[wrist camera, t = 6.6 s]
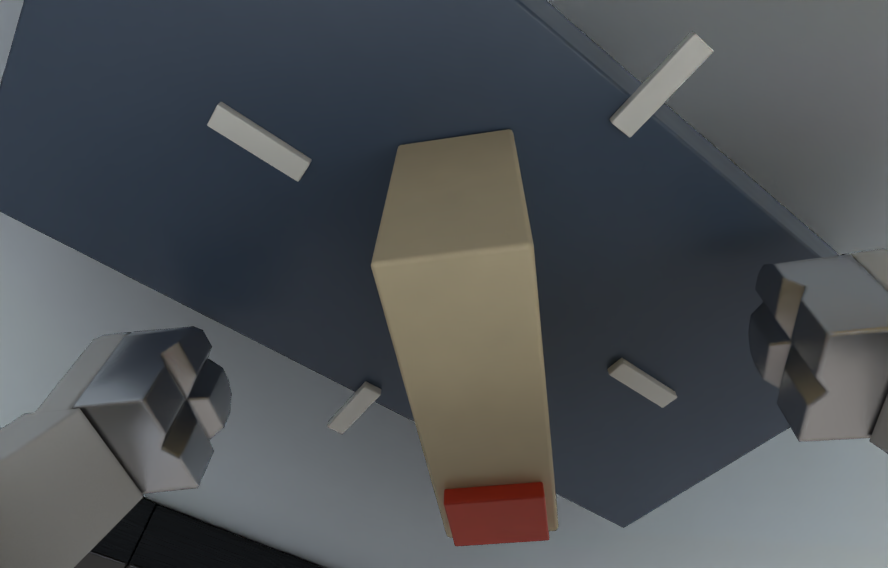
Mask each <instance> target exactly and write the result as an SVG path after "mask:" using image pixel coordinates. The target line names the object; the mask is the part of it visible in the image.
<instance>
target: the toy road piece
mask: <svg viewBox="0 0 888 568" xmlns="http://www.w3.org/2000/svg"><path fill="white" fill-rule="evenodd" d="M713 52H714V50H713V49H712V48H711V47H710V46H709V45H708V44H706V43H705V42H704V41H703V40H702V39H701V38H700V37H699V36H698V35H697V34H696V33H695V32H693V31H691V32H690V33H689V34H688V35H687V36H686V37H685V38H684V39H683V40H682V41H681V42H680V43H679V45H678V46H677V47H676V48H675V49H674V50H673V51H672V52H671V53H670V54H669V55H668V56H667V57H666V58H665V60H664V61H663V62H662V63H661V64H660V65H659V66H658V67H657V68H656V69H655V70H654V71H653V72H652V74H651V75H650V76H649V77H648V78H647V79H646V80H645V81H644V82H643V83H641V82H640V81H638V80H637V79H636V78H635V77H634V76H633V75H631V74H630V73H629V72H628V71H627V70H626V69H625V68H623V67H622V66H621V65H620V64H619V63H618V62H616V61H615V60H614V59H613V58H612V57H611V56H610V55H608V54H607V53H606V52H605V51H604V50H603V49H601V48H600V47H599V46H598V45H597V44H596V43H595V42H593V41H592V40H591V39H590V38H589V37H588V36H586V35H585V34H584V33H583V32H582V31H581V30H580V29H578V28H577V27H576V26H575V25H574V24H573V23H571V22H570V21H569V20H568V19H567V18H566V17H565V16H563V15H562V14H561V13H560V12H559V11H558V10H556V9H555V8H554V7H553V6H552V5H551V4H550V3H548V2H547V1H546V0H24V3H23V6H22V10H21V13H20V17H19V20H18V24H17V27H16V31H15V35H14V38H13V42H12V45H11V49H10V52H9V56H8V59H7V63H6V66H5V70H4V74H3V77H2V81H1V84H0V212H2V213H4V214H6V215H8V216H10V217H12V218H14V219H16V220H18V221H20V222H22V223H24V224H26V225H28V226H30V227H31V228H33V229H35V230H37V231H39V232H41V233H43V234H45V235H47V236H49V237H51V238H53V239H55V240H57V241H59V242H61V243H63V244H65V245H67V246H69V247H71V248H73V249H75V250H77V251H79V252H81V253H83V254H85V255H87V256H89V257H91V258H93V259H95V260H97V261H99V262H100V263H102V264H104V265H106V266H108V267H110V268H112V269H114V270H116V271H118V272H120V273H122V274H124V275H126V276H128V277H130V278H132V279H134V280H136V281H138V282H140V283H142V284H144V285H146V286H148V287H150V288H152V289H154V290H156V291H158V292H160V293H162V294H164V295H166V296H168V297H169V298H171V299H173V300H175V301H177V302H179V303H181V304H183V305H185V306H187V307H189V308H191V309H193V310H195V311H197V312H199V313H201V314H203V315H205V316H207V317H209V318H211V319H213V320H215V321H217V322H219V323H221V324H223V325H225V326H227V327H229V328H231V329H233V330H235V331H237V332H238V333H240V334H242V335H244V336H246V337H248V338H250V339H252V340H254V341H256V342H258V343H260V344H262V345H264V346H266V347H268V348H270V349H272V350H274V351H276V352H278V353H280V354H282V355H284V356H286V357H288V358H290V359H292V360H294V361H296V362H298V363H300V364H302V365H304V366H305V367H307V368H309V369H311V370H313V371H315V372H317V373H319V374H321V375H323V376H325V377H327V378H329V379H331V380H333V381H335V382H337V383H339V384H341V385H343V386H345V387H347V388H349V389H351V390H353V391H355V393H354V394H353V395H352V396H351V397H350V399H349V400H348V401H347V402H346V403H345V404H344V405H343V406H342V407H341V408H340V409H339V410H338V411H337V413H336V414H335V415H334V416H333V417H332V418H331V419H330V420H329V421H328V425H327V427H328V428H330V429H332V430H334V431H336V432H338V433H340V434H343V433H344V432H345V431H346V430H347V429H348V428H349V427H350V426H351V425H352V424H353V423H354V422H355V421H356V420H357V419H358V418H359V417H360V416H361V415H362V414H363V413H364V412H365V411H366V410H367V409H368V408H369V407H370V406H371V405H372V403H373V402H376V403H378V404H380V405H382V406H384V407H386V408H388V409H390V410H392V411H394V412H396V413H398V414H400V415H402V416H404V417H406V418H408V419H410V420H412V421H414V418H413V414H412V410H411V407H410V403H409V400H408V396H407V393H406V389H405V386H404V382H403V379H402V375H401V372H400V368H399V364H398V361H397V357H396V354H395V350H394V347H393V343H392V340H391V336H390V333H389V329H388V325H387V322H386V318H385V315H384V311H383V308H382V304H381V301H380V297H379V294H378V290H377V286H376V283H375V279H374V276H373V272H372V269H371V262H372V258H373V253H374V249H375V245H376V240H377V236H378V231H379V227H380V223H381V218H382V214H383V210H384V205H385V201H386V197H387V192H388V188H389V184H390V179H391V175H392V171H393V166H394V162H395V158H396V153H397V149H398V146H400V145H405V144H411V143H418V142H425V141H432V140H439V139H446V138H453V137H459V136H466V135H473V134H480V133H487V132H494V131H501V130H507V129H509V130H512V132H513V134H514V140H515V145H516V151H517V156H518V162H519V167H520V173H521V178H522V184H523V189H524V195H525V200H526V206H527V211H528V217H529V222H530V228H531V233H532V239H533V244H534V254H535V265H536V276H537V288H538V299H539V310H540V322H541V333H542V344H543V356H544V367H545V378H546V390H547V401H548V412H549V424H550V435H551V446H552V458H553V469H554V480H555V492H556V494H558V495H560V496H562V497H564V498H566V499H568V500H570V501H572V502H574V503H576V504H578V505H580V506H581V507H583V508H585V509H587V510H589V511H591V512H593V513H595V514H597V515H599V516H601V517H603V518H605V519H607V520H609V521H611V522H613V523H615V524H617V525H619V526H621V527H626V526H628V525H629V524H631V523H633V522H634V521H636V520H638V519H639V518H641V517H643V516H644V515H646V514H648V513H649V512H651V511H653V510H654V509H656V508H658V507H659V506H661V505H662V504H664V503H666V502H667V501H669V500H671V499H672V498H674V497H676V496H677V495H679V494H681V493H682V492H684V491H686V490H687V489H689V488H691V487H692V486H694V485H695V484H697V483H699V482H700V481H702V480H704V479H705V478H707V477H709V476H710V475H712V474H714V473H715V472H717V471H719V470H720V469H722V468H724V467H725V466H727V465H728V464H730V463H732V462H733V461H735V460H737V459H738V458H740V457H742V456H743V455H745V454H747V453H748V452H750V451H752V450H753V449H755V448H757V447H758V446H760V445H761V444H763V443H765V442H766V441H768V440H770V439H771V438H773V437H775V436H776V435H778V434H780V433H781V432H783V431H785V430H786V429H788V428H790V425H789V424H788V422H787V420H786V419H785V417H784V415H783V414H782V412H781V410H780V409H779V407H778V405H777V399H778V394H779V390H780V389H778V388H777V387H775V386H773V385H771V384H770V383H768V382H766V381H764V380H763V379H762V378H761V376H760V374H759V372H758V370H757V369H756V367H755V364H754V362H753V359H752V356H751V353H750V346H749V338H748V330H749V323H750V315H751V314H752V313H753V312H754V311H755V310H756V309H757V308H758V307H759V306H760V305H761V304H762V303H763V300H762V299H761V297H760V296H759V294H758V293H757V291H756V290H755V287H756V282H757V277H758V273H759V271H760V270H761V268H762V266H763V264H772V263H780V262H789V261H797V260H806V259H814V258H823V257H831V256H840V255H839V254H838V253H837V252H836V251H834V250H833V249H832V248H831V247H830V246H829V245H828V244H826V243H825V242H824V241H823V240H822V239H821V238H819V237H818V236H817V235H816V234H815V233H814V232H813V231H811V230H810V229H809V228H808V227H807V226H806V225H804V224H803V223H802V222H801V221H800V220H799V219H798V218H796V217H795V216H794V215H793V214H792V213H791V212H789V211H788V210H787V209H786V208H785V207H784V206H783V205H781V204H780V203H779V202H778V201H777V200H776V199H774V198H773V197H772V196H771V195H770V194H769V193H768V192H766V191H765V190H764V189H763V188H762V187H761V186H759V185H758V184H757V183H756V182H755V181H754V180H753V179H751V178H750V177H749V176H748V175H747V174H746V173H744V172H743V171H742V170H741V169H740V168H739V167H738V166H736V165H735V164H734V163H733V162H732V161H731V160H729V159H728V158H727V157H726V156H725V155H724V154H723V153H721V152H720V151H719V150H718V149H717V148H716V147H714V146H713V145H712V144H711V143H710V142H709V141H708V140H706V139H705V138H704V137H703V136H702V135H701V134H700V133H698V132H697V131H696V130H695V129H694V128H693V127H691V126H690V125H689V124H688V123H687V122H686V121H685V120H683V119H682V118H681V117H680V116H679V115H678V114H676V113H675V112H674V111H673V110H672V109H671V108H670V107H668V106H667V105H666V104H665V102H666V101H667V99H668V98H669V97H670V96H671V95H672V94H673V93H674V92H675V91H676V90H677V89H678V88H679V87H680V86H681V85H682V84H683V83H684V82H685V81H686V80H687V79H688V78H689V77H690V76H691V75H692V74H693V73H694V72H695V71H696V70H697V69H698V68H699V67H700V65H701V64H702V63H703V62H704V61H705V60H706V59H707V58H708V57H709V56H710V55H711V54H712V53H713ZM414 422H415V421H414Z"/></svg>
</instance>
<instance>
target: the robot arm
mask: <svg viewBox="0 0 888 568" xmlns="http://www.w3.org/2000/svg"><path fill="white" fill-rule="evenodd" d="M755 290H756V291H757V293H758V294H759V296H760V297H761V299H762V300H763V303H762V304H761V305H760V306H759V307H758V308H757V309H756V310H755V311H754V312H753V313H752V314H751V315H750V323H749V330H748V338H749V346H750V353H751V356H752V359H753V362H754V364H755V367H756V369H757V370H758V372H759V374H760V376H761V378H762V379H763V380H764V381H766V382H768V383H770V384H771V385H773V386H775V387H777V388H778V389H780V390H779V394H778V399H777V405H778V407H779V409H780V410H781V412H782V414H783V415H784V417H785V419H786V420H787V422H788V424H789V425H790V427H791V429H792V430H793V432H794V434H795V435H796V437H797V439H798V440H799V442H802V441H821V440H841V439H860V438H870V442H872V443H873V444H874V445H876V446H877V447H879V448H880V449H882V450H883V451H885V452H886V453H887V454H888V250H887V249H884V248H883V249H876V250H868V251H861V252H854V253H847V254H842V255H840V256H831V257H823V258H814V259H806V260H797V261H789V262H780V263H772V264H763V266H762V268H761V270H760V271H759V273H758V277H757V282H756V287H755ZM211 348H212V346H211V344H210V342H209V340H208V339H207V337H206V335H205V333H204V331H203V330H201V329H199V328H196V327H194V326H192V327H181V328H169V329H158V330H146V331H135V332H125V333H116V334H107V335H103V336H100V337H98V338H95V339H93V340H92V342H91V343H90V344H89V345H88V347H87V348H86V349H85V350H84V352H83V353H82V354H81V355H80V357H79V358H78V359H77V360H76V362H75V363H74V364H73V365H72V367H71V368H70V369H69V370H68V372H67V373H66V374H65V375H64V377H63V378H62V379H61V380H60V382H59V383H58V384H57V385H56V387H55V388H54V389H53V390H52V392H51V393H50V394H49V395H48V397H47V398H46V399H45V401H44V402H43V403H42V404H41V406H40V407H39V408H38V409H37V411H36V412H35V413H26V414H23V415H22V416H20V417H19V418H17V419H16V420H14V421H12V422H11V423H9V424H8V425H6V426H5V427H3V428H1V429H0V568H74V567H75V566H76V565H77V564H78V563H79V562H80V561H81V560H82V559H83V558H84V557H85V556H86V555H87V554H88V553H89V552H90V551H91V550H92V549H93V548H94V547H95V546H96V545H97V544H98V543H99V542H100V541H101V540H102V539H103V538H104V537H105V536H106V535H107V534H108V533H109V532H110V531H111V530H112V529H113V527H114V526H115V525H116V524H117V523H118V522H119V521H120V520H121V519H122V518H123V517H124V516H125V515H126V514H127V513H128V512H129V511H130V510H131V509H132V508H133V507H134V506H135V505H136V504H137V503H138V502H139V501H140V500H141V499H142V498H143V497H144V496H143V494H146V493H156V492H165V491H174V490H184V489H193V488H198V487H199V484H200V482H201V480H202V478H203V475H204V473H205V471H206V468H207V466H208V464H209V461H210V459H211V457H212V455H213V452H214V449H213V447H212V444H211V442H210V439H211V438H212V437H213V436H215V435H216V434H217V433H218V432H219V431H220V430H222V429H223V428H224V427H225V424H226V422H227V419H228V417H229V414H230V409H231V396H232V393H231V389H230V384H229V380H228V378H227V376H226V374H225V371H224V369H223V368H222V367H221V366H219V365H217V364H216V363H214V362H213V361H211V360H210V359H208V357H209V354H210V351H211Z"/></svg>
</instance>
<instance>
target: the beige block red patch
mask: <svg viewBox="0 0 888 568" xmlns="http://www.w3.org/2000/svg"><path fill="white" fill-rule="evenodd" d="M371 269H372V272H373V276H374V279H375V283H376V286H377V290H378V294H379V297H380V301H381V304H382V308H383V311H384V315H385V318H386V322H387V325H388V329H389V333H390V336H391V340H392V343H393V347H394V350H395V354H396V357H397V361H398V364H399V368H400V372H401V375H402V379H403V382H404V386H405V389H406V393H407V396H408V400H409V403H410V407H411V410H412V414H413V418H414V421H415V425H416V428H417V432H418V435H419V439H420V442H421V446H422V449H423V453H424V457H425V460H426V464H427V467H428V471H429V474H430V478H431V481H432V485H433V488H434V492H435V496H436V499H437V503H438V506H439V510H440V513H441V517H442V520H443V524H444V527H445V531H446V534H447V536H448V537H450V538H453V540H454V544H455V546H468V545H483V544H499V543H514V542H530V541H545V540H549V531H556V530H557V529H558V514H557V503H556V492H555V480H554V469H553V458H552V446H551V435H550V424H549V412H548V401H547V390H546V378H545V367H544V356H543V344H542V333H541V322H540V310H539V299H538V288H537V276H536V265H535V254H534V244H533V239H532V233H531V228H530V222H529V217H528V211H527V206H526V200H525V195H524V189H523V184H522V178H521V173H520V167H519V162H518V156H517V151H516V145H515V140H514V134H513V132H512V130H509V129H507V130H501V131H494V132H487V133H480V134H473V135H466V136H459V137H453V138H446V139H439V140H432V141H425V142H418V143H411V144H405V145H400V146H398V149H397V153H396V158H395V162H394V166H393V171H392V175H391V179H390V184H389V188H388V192H387V197H386V201H385V205H384V210H383V214H382V218H381V223H380V227H379V231H378V236H377V240H376V245H375V249H374V253H373V258H372V262H371Z"/></svg>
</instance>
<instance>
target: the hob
mask: <svg viewBox="0 0 888 568" xmlns="http://www.w3.org/2000/svg"><path fill="white" fill-rule="evenodd" d="M74 568H322V567H320V566H317V565H314V564H312V563H309V562H307V561H304V560H302V559H299V558H296V557H294V556H291V555H289V554H284V553H282V552H279V551H276V550H274V549H271V548H268V547H266V546H263V545H261V544H258V543H255V542H253V541H250V540H248V539H245V538H242V537H240V536H237V535H235V534H232V533H229V532H227V531H224V530H222V529H219V528H216V527H214V526H211V525H209V524H206V523H204V522H201V521H198V520H196V519H193V518H191V517H188V516H185V515H183V514H180V513H178V512H175V511H172V510H170V509H167V508H165V507H162V506H159V505H157V506H156V507H155V503H153V502H150V501H148V500H145V499H143V498H142V499H141V500H140V501H139V502H138V503H137V504H136V505H135V506H134V507H133V508H132V509H131V510H130V511H129V512H128V513H127V514H126V515H125V516H124V517H123V518H122V519H121V520H120V521H119V522H118V523H117V524H116V525H115V526H114V527H113V529H112V530H111V531H110V532H109V533H108V534H107V535H106V536H105V537H104V538H103V539H102V540H101V541H100V542H99V543H98V544H97V545H96V546H95V547H94V548H93V549H92V550H91V551H90V552H89V553H88V554H87V555H86V556H85V557H84V558H83V559H82V560H81V561H80V562H79V563H78V564H77V565H76V566H75V567H74Z"/></svg>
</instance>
